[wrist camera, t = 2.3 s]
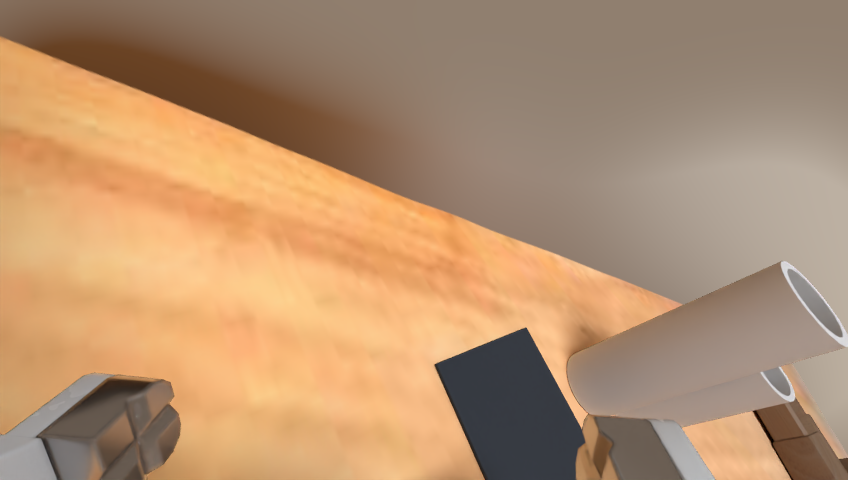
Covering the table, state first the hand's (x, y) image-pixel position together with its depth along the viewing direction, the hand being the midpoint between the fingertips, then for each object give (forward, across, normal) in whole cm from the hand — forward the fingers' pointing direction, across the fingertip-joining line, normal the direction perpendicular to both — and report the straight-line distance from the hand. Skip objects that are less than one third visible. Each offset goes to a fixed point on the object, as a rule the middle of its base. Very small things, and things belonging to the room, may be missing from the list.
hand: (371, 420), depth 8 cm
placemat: (+20, -10, +22) cm, 32 cm away
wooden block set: (+44, -53, +41) cm, 80 cm away
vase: (+30, -18, +23) cm, 42 cm away
